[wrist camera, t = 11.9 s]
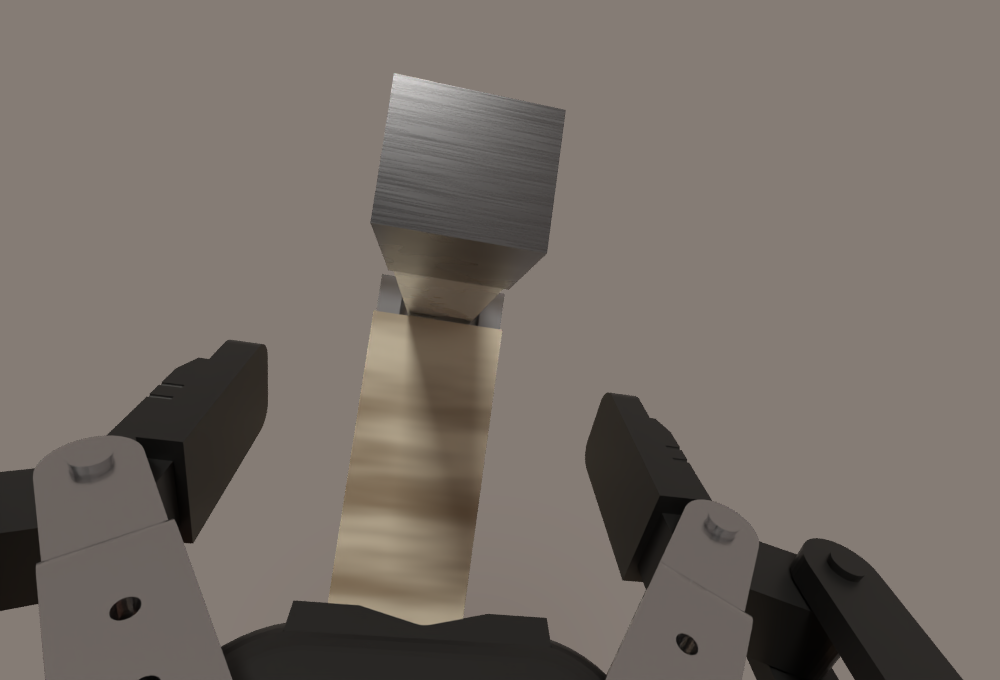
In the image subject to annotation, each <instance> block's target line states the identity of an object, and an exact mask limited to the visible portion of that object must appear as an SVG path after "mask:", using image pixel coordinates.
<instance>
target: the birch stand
mask: <svg viewBox="0 0 1000 680" xmlns="http://www.w3.org/2000/svg"><path fill="white" fill-rule="evenodd" d="M503 301H504V294H502V293H499V294H498V295H497V296H496V297H495V298H494V299H493V300H492V301H491V302H490V303H489V304H488V305H487V306H486V307H485V308H484V309H483V310H482V311H481V312H480V313H479V314H478V315H477V316H476V317H475V318H474V319H473V320H472V321H471V322H470V324H469V325H467V324H460V323H454V322H447V321H440V320H434V319H427V318H420V317H414V316H408V313H407V310H406V307H405V304H404V301H403V298H402V295H401V292H400V289H399V286H398V283H397V280H396V277H395V276H390V275H384V274H382V279H381V286H380V292H379V298H378V305H377V311H374V312H373V319H372V324H371V331H370V338H369V344H368V350H367V357H366V363H365V369H364V376H363V382H362V388H361V395H360V402H359V408H358V414H357V420H356V427H355V434H354V440H353V446H352V453H351V459H350V465H349V472H348V478H347V484H346V491H345V497H344V504H343V510H342V516H341V523H340V529H339V536H338V542H337V548H336V555H335V561H334V568H333V574H332V581H331V587H330V593H329V600H328V603H335V604H349V605H360V606H363V607H366V608H369V609H372V610H375V611H379V612H382V613H385V614H388V615H391V616H394V617H397V618H400V619H403V620H406V621H409V622H412V623H415V624H419V625H432V624H437V623H443V622H448V621H453V620H459V619H463V614H464V607H465V600H466V592H467V585H468V578H469V570H470V563H471V555H472V548H473V541H474V533H475V526H476V519H477V512H478V504H479V497H480V490H481V482H482V475H483V468H484V460H485V453H486V446H487V438H488V431H489V423H490V416H491V409H492V402H493V394H494V387H495V379H496V372H497V365H498V358H499V350H500V343H501V335H502V330H500V323H501V315H502V308H503Z"/></svg>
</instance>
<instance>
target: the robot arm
mask: <svg viewBox="0 0 1000 680" xmlns="http://www.w3.org/2000/svg"><path fill="white" fill-rule="evenodd" d="M267 361H268V356H267V348H266V346H265V345H264V344H257V343H250V342H243V341H235V340H227V341H226V342H225V343H224V344H223V345H222V346H221V347H220V348H219V349H218V350H217V351H216V353H214V355H213V356H212V357H211V358H210V359H204V358H197V359H195V360H193V361H191V362H189V363H186V364H184V365H182V366H180V367H178V368H176V369H175V370H174V371H173V372H172V373H171V374H170V375H169V376H168V377H167V378H166V379H165V380H164V381H163V382H162V384H161V385H158V386H157V387H156V388H155V389H154V390H153V391H152V392H151V393H150V396H149V397H146V398H145V399H144V400H143V401H142V402H141V403H140V404H139V405H138V406H137V407H136V408H135V409H134V410H132V412H130V413H129V414H128V416H126V417H125V418H124V419H123V420H122V421H121V422H120V423H119V424H118V425H117V426H116V427H115V428H114V429H113V430H112V431H111V432H110V433H109V434H108V435H107V436H96V437H90V438H85V439H81V440H77V441H74V442H71V443H69V444H66V445H64V446H62V447H60V448H58V449H56V450H54V451H52V452H51V453H49V454H48V455H47V456H45V457H44V458H43V459H42V460H41V461H40V462H39V463H38V464H37V466H36V467H35V468H34V469H26V470H16V471H6V472H0V611H3V610H8V609H13V608H18V607H24V606H29V605H34V604H39V614H40V625H41V637H42V648H43V659H44V669H45V680H742V675H743V671H744V666H745V660H746V657H747V659H748V661H749V664H750V666H751V668H752V670H753V672H754V675H755V677H756V679H757V680H839V679H838V678H837V676H836V674H835V673H834V671H833V669H832V666H833V665H834V664H835V663H836V661H837V660H838V659H839V658H840V656H841V658H842V660H843V661H844V663H845V664H846V666H847V668H848V669H849V671H850V673H851V674H852V676H853V677H854V679H855V680H963V679H962V678H961V677H960V675H959V674H958V673H957V672H956V670H955V669H954V668H953V667H952V665H951V664H950V663H949V662H948V660H947V659H946V658H945V657H944V655H943V654H942V653H941V652H940V650H939V649H938V648H937V647H936V645H935V644H934V643H933V642H932V640H931V639H930V638H929V637H928V635H927V634H926V633H925V632H924V630H923V629H922V628H921V627H920V625H919V624H918V623H917V622H916V620H915V619H914V618H913V617H912V615H911V614H910V613H909V612H908V610H907V609H906V608H905V607H904V605H903V604H902V603H901V602H900V600H899V599H898V598H897V596H896V595H895V594H894V593H893V591H892V590H891V589H890V588H889V587H888V585H887V584H886V583H885V582H884V580H883V579H882V578H881V576H880V575H879V574H878V573H877V572H876V571H875V569H874V568H873V567H872V566H871V565H870V564H868V563H867V562H866V561H865V560H864V559H863V558H861V557H859V556H858V555H857V554H856V553H854V552H853V551H851V550H849V549H848V548H846V547H844V546H842V545H840V544H837V543H835V542H832V541H829V540H825V539H818V538H816V539H809V540H807V541H806V542H805V543H804V545H803V546H802V548H801V550H800V551H799V552H798V554H794V553H791V552H788V551H785V550H782V549H779V548H776V547H774V546H771V545H768V544H765V543H762V542H760V541H759V540H758V536H757V534H756V532H755V531H754V529H753V528H752V526H751V525H750V524H749V523H748V522H747V521H746V520H745V519H744V518H743V517H742V516H741V515H739V514H738V513H737V512H735V511H734V510H732V509H730V508H729V507H727V506H725V505H722V504H720V503H717V502H714V501H712V500H711V498H710V497H709V495H708V493H707V492H706V490H705V488H704V487H703V485H702V484H701V482H700V480H699V479H698V477H697V475H696V474H695V472H694V470H693V469H692V467H691V465H690V464H689V463H687V459H686V457H685V455H684V454H683V452H682V450H680V449H679V445H678V444H677V442H676V440H675V439H674V437H673V436H672V434H671V432H670V431H668V430H667V429H666V428H665V427H664V426H663V425H662V424H660V423H659V422H658V421H657V420H656V419H653V418H649V416H648V414H647V412H646V410H645V409H644V407H643V405H642V403H641V402H640V400H639V398H638V397H636V396H629V395H622V394H615V393H606V394H605V395H604V396H603V398H602V400H601V403H600V406H599V409H598V412H597V415H596V418H595V421H594V424H593V427H592V430H591V433H590V436H589V438H588V442H587V445H586V452H585V463H586V468H587V471H588V474H589V478H590V481H591V484H592V487H593V490H594V493H595V495H596V499H597V502H598V506H599V508H600V511H601V515H602V518H603V521H604V524H605V527H606V530H607V533H608V537H609V540H610V543H611V545H612V549H613V552H614V555H615V558H616V561H617V564H618V567H619V570H620V573H621V577H622V580H624V581H638V582H643V583H644V586H645V588H646V591H645V594H644V596H643V598H642V600H641V602H640V604H639V606H638V609H637V610H636V613H635V615H634V617H633V619H632V621H631V624H630V625H629V628H628V630H627V632H626V634H625V636H624V639H623V640H622V643H621V645H620V647H619V649H618V651H617V654H616V655H615V658H614V660H613V662H612V664H611V666H610V668H609V670H608V673H607V675H606V674H605V673H604V672H602V671H601V670H600V669H599V668H598V667H597V666H596V665H594V664H593V663H592V662H590V661H589V660H588V659H587V658H585V657H584V656H582V655H580V654H579V653H577V652H576V651H574V650H572V649H570V648H568V647H566V646H564V645H562V644H560V643H558V642H555V641H552V640H550V636H549V630H548V624H547V618H537V617H524V616H509V615H494V614H485V615H480V616H475V617H469V618H464V619H459V620H453V621H448V622H443V623H437V624H432V625H419V624H415V623H412V622H409V621H406V620H403V619H400V618H397V617H394V616H391V615H388V614H385V613H382V612H379V611H375V610H372V609H369V608H366V607H363V606H360V605H349V604H335V603H320V602H306V601H293V604H292V607H291V610H290V613H289V616H288V619H287V622H286V623H283V624H277V625H273V626H269V627H266V628H262V629H259V630H256V631H253V632H251V633H249V634H246V635H244V636H241V637H239V638H237V639H235V640H233V641H231V642H229V643H227V644H225V645H223V646H222V647H221V646H220V644H219V641H218V638H217V635H216V632H215V629H214V627H213V624H212V621H211V618H210V616H209V613H208V610H207V607H206V604H205V601H204V599H203V596H202V593H201V590H200V588H199V585H198V582H197V579H196V576H195V574H194V571H193V568H192V565H191V562H190V560H189V557H188V554H187V551H186V548H185V546H184V543H193V542H194V541H195V539H196V537H197V536H198V534H199V533H200V531H201V529H202V528H203V526H204V524H205V523H206V521H207V519H208V517H209V516H210V514H211V513H212V511H213V509H214V508H215V506H216V504H217V503H218V501H219V499H220V497H221V496H222V494H223V493H224V491H225V489H226V487H227V486H228V484H229V482H230V481H231V479H232V477H233V476H234V474H235V472H236V471H237V469H238V467H239V466H240V464H241V462H242V461H243V459H244V457H245V456H246V454H247V452H248V451H249V449H250V447H251V446H252V444H253V442H254V441H255V439H256V437H257V436H258V434H259V432H260V430H261V428H262V426H263V424H264V421H265V418H266V413H267V407H268V362H267Z"/></svg>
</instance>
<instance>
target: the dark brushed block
mask: <svg viewBox="0 0 1000 680" xmlns="http://www.w3.org/2000/svg"><path fill="white" fill-rule="evenodd" d="M564 119H565V110H563V109H558V108H554V107H549V106H544V105H539V104H535V103H530V102H526V101H521V100H516V99H512V98H507V97H502V96H497V95H493V94H488V93H484V92H479V91H474V90H470V89H465V88H460V87H456V86H451V85H446V84H442V83H437V82H433V81H428V80H423V79H418V78H414V77H409V76H404V75H400V74H394V78H393V84H392V91H391V97H390V104H389V110H388V116H387V122H386V128H385V135H384V141H383V148H382V154H381V160H380V166H379V172H378V179H377V185H376V191H375V198H374V204H373V210H372V217H371V225H372V228H373V230H374V233H375V235H376V238H377V241H378V244H379V246H380V249H381V251H382V254H383V257H384V259H385V262H386V265H387V267H388V270H390V271H394V273H395V277H396V280H397V283H398V286H399V289H400V292H401V295H402V298H403V301H404V304H405V307H406V310H407V313H408V316H414V317H420V318H427V319H434V320H440V321H447V322H454V323H460V324H467V325H469V324H470V322H471V321H472V320H473V319H474V318H475V317H476V316H477V315H478V314H479V313H480V312H481V311H482V310H483V309H484V308H485V307H486V306H487V305H488V304H489V303H490V302H491V301H492V300H493V299H494V298H495V297H496V296H497V295H498V294H499V293H500V292H501V291H502V290H503V289H508V290H509V289H510V288H511V287H512V286H513V285H514V284H515V283H516V282H517V281H518V280H519V279H520V278H521V277H523V276H524V275H525V274H526V273H527V272H528V271H529V270H530V269H531V268H532V267H533V266H534V265H535V264H536V263H537V262H538V261H539V260H540V259H541V258H542V257H543V256H545V254H547V249H548V241H549V233H550V226H551V218H552V210H553V203H554V195H555V188H556V179H557V172H558V164H559V157H560V149H561V142H562V134H563V127H564Z"/></svg>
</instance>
